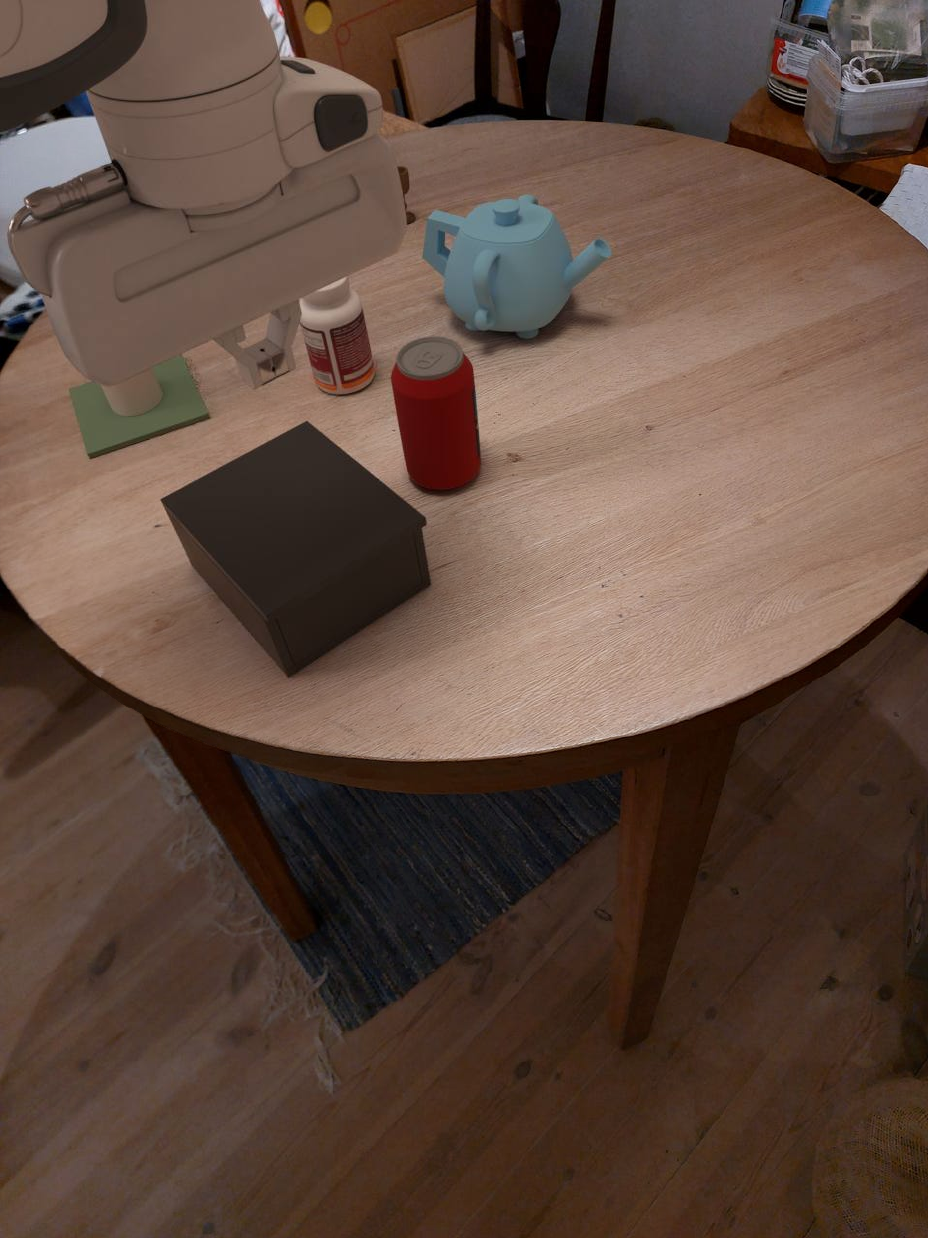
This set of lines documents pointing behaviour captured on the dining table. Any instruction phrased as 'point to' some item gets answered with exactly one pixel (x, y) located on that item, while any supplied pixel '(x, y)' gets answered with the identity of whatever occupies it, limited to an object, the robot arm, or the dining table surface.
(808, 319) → the dining table surface
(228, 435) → the dining table surface
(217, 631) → the dining table surface
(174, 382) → the mat
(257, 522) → the dark hinged box lid
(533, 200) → the teapot
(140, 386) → the container
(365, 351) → the pill bottle
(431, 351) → the beverage can
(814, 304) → the dining table surface
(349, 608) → the black keepsake box
